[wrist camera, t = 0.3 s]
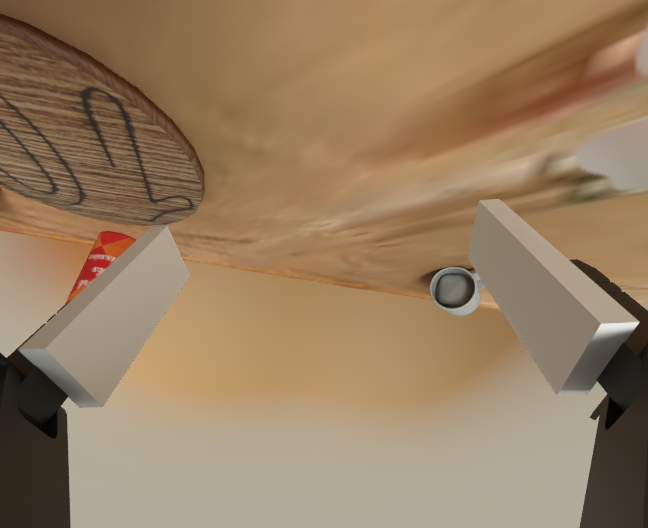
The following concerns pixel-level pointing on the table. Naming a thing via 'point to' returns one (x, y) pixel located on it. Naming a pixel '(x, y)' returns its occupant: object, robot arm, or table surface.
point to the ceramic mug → (456, 290)
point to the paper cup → (101, 258)
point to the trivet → (88, 136)
